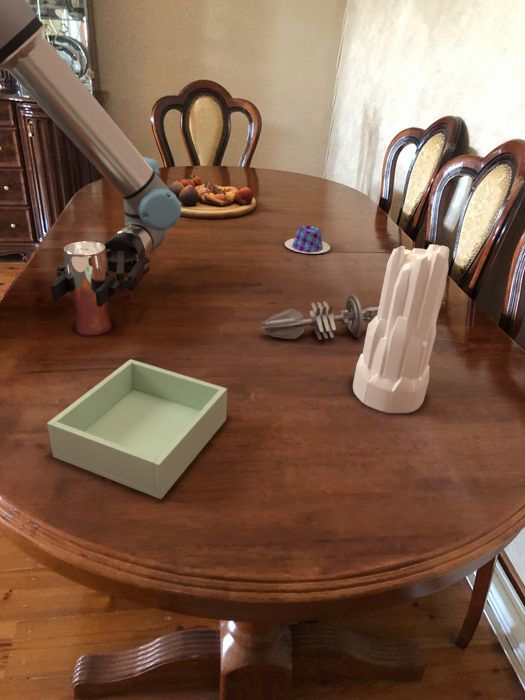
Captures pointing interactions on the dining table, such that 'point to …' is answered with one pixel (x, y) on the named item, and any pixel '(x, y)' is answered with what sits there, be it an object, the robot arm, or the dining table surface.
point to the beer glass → (87, 285)
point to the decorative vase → (403, 331)
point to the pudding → (307, 241)
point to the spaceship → (320, 320)
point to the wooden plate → (211, 199)
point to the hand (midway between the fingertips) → (76, 296)
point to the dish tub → (139, 426)
